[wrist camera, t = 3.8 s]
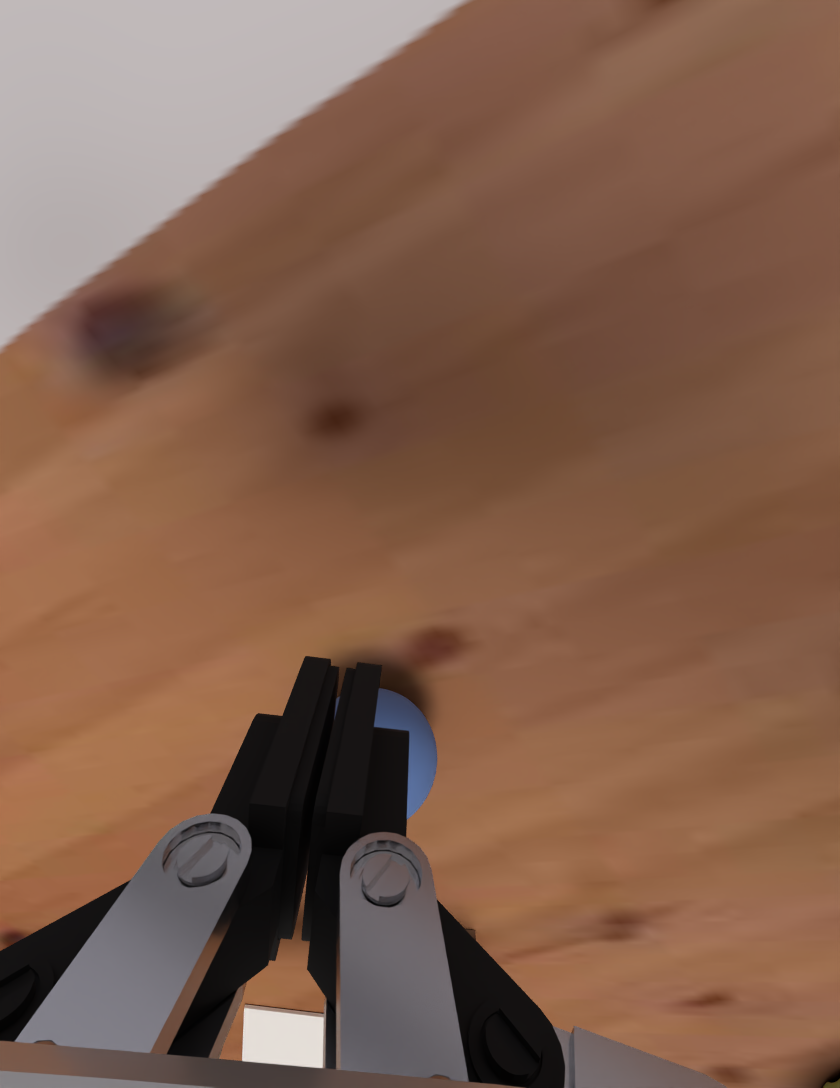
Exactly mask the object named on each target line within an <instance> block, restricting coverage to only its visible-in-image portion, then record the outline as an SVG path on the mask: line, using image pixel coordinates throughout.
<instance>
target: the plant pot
mask: <svg viewBox="0 0 840 1088" xmlns="http://www.w3.org/2000/svg"><path fill="white" fill-rule="evenodd" d="M823 1088H840V1079H839V1080H838V1081H836V1082H833V1083H830V1082H827V1083H826V1084H825V1085H824V1086H823Z"/></svg>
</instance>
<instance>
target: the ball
mask: <svg viewBox="0 0 840 1088" xmlns="http://www.w3.org/2000/svg"><path fill="white" fill-rule="evenodd" d="M339 698H340V697H338V698H336V708H335V715H336V711H337V707H338V703H339ZM334 720H335V718H334ZM374 727H381V728H389V729H398V730H407V731H409V767H408V797H407V819H408V818H409V817H411V816H412V815H413V814H414V813H415V812H416V811H417V810H418V809H419V808H420V806H421V805H422V804H423V802H424V801H425V799H426V798H427V796H428V794H429V791H430V789H431V787H432V785H433V781H434V777H435V774H436V767H437V749H436V742H435V738H434V735H433V732H432V729H431V727H430V725H429V723H428V721H427V719H426V718H425V716H424V715H423V713H422V712H421V711H420V710H419V709H418V708H417V707H416V706H415V705H414V704H413V703H412V702H411V701H410V700H408V699H407V698H405V697H404V696H402V695H400V694H398V693H395V692H393V691H390V690H387V689H381V688H379V691H378V699H377V707H376V715H375V722H374Z"/></svg>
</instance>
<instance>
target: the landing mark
mask: <svg viewBox="0 0 840 1088" xmlns="http://www.w3.org/2000/svg"><path fill="white" fill-rule="evenodd" d="M323 1026H324V1014H321V1013H312V1012H304V1011H296V1010H287V1009H279V1008H271V1007H263V1006H254V1005H246V1004H245V1007H244V1027H243V1053H242V1061H247V1062H258V1063H269V1064H281V1065H292V1066H303V1067H315V1068H323Z"/></svg>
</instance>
